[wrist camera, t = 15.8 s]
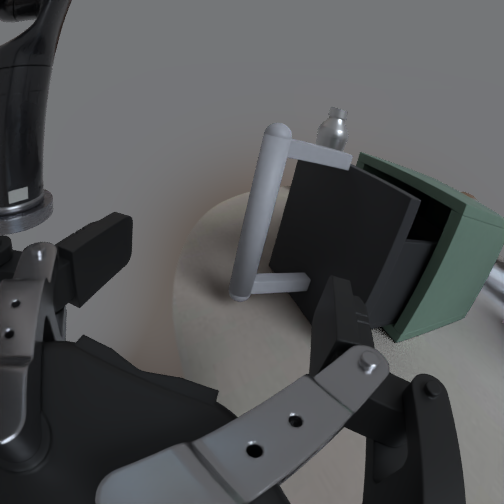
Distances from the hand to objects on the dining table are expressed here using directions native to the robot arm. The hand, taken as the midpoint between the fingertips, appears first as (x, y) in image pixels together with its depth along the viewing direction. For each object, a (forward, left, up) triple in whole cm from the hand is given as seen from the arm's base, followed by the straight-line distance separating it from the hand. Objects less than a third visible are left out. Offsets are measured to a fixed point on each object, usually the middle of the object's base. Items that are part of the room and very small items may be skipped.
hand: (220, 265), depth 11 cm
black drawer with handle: (+15, +8, -10) cm, 20 cm away
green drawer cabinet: (+27, +8, -10) cm, 29 cm away
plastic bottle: (+34, +41, -10) cm, 54 cm away
